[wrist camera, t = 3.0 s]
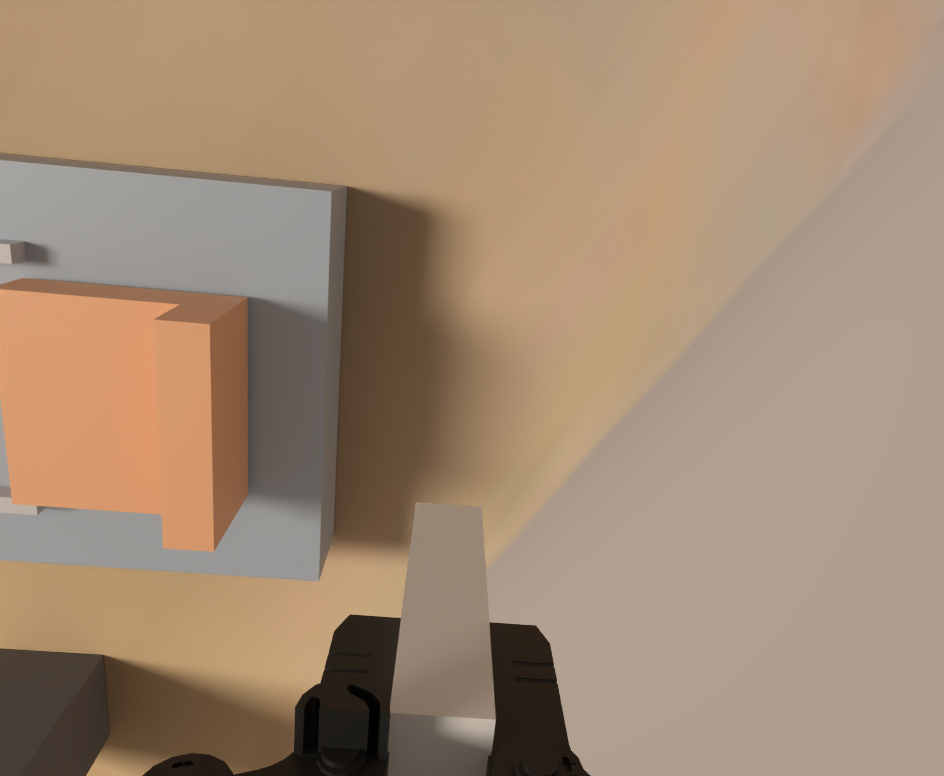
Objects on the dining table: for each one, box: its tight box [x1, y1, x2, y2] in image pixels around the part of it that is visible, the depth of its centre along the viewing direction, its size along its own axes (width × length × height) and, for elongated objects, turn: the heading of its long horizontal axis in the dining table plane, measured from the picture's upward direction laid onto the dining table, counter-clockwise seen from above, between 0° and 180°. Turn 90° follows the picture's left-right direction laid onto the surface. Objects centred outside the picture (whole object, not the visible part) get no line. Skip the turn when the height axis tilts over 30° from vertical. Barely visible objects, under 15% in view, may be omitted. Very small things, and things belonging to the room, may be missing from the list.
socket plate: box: [0, 153, 347, 581], centre depth 25 cm, size 14×18×4 cm
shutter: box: [0, 278, 248, 552], centre depth 22 cm, size 7×7×4 cm
